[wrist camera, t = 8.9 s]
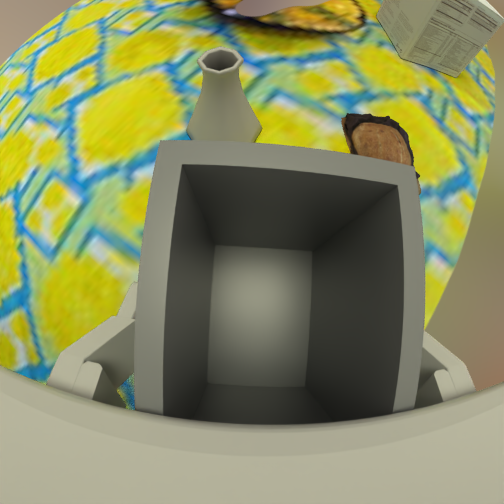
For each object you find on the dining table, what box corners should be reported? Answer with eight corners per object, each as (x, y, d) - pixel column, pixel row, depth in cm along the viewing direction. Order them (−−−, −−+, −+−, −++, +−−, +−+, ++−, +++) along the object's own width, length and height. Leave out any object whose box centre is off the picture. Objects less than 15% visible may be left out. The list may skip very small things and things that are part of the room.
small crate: (312, 393, 13) (393, 484, 4) (196, 389, 13) (143, 490, 4) (320, 242, 15) (414, 166, 6) (205, 235, 15) (160, 140, 6)
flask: (223, 174, 26) (217, 108, 16) (174, 132, 27) (152, 65, 17) (274, 130, 27) (289, 60, 17) (224, 94, 28) (222, 24, 18)
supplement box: (458, 79, 32) (507, 21, 15) (400, 59, 31) (447, -19, 14) (429, 34, 34) (464, -21, 17) (374, 15, 34) (404, -52, 16)
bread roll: (421, 197, 28) (440, 186, 24) (360, 203, 27) (376, 190, 23) (392, 118, 29) (405, 102, 26) (332, 116, 29) (342, 96, 25)
